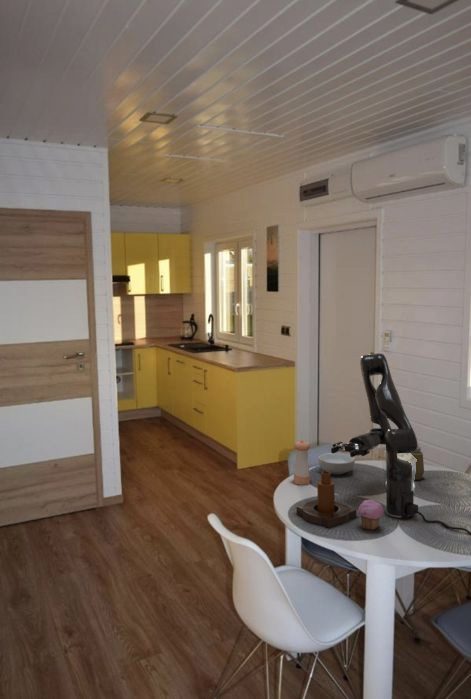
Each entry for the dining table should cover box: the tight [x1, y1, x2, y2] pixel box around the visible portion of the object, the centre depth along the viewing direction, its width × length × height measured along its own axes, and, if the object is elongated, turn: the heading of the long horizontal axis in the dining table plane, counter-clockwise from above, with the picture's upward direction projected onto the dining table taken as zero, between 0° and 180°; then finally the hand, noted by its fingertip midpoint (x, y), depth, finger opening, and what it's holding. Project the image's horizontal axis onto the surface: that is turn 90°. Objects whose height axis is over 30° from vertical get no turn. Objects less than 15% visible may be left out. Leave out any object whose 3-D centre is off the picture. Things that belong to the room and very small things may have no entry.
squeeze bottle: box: [411, 442, 425, 481], centre depth 260 cm, size 8×8×18 cm
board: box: [296, 499, 357, 529], centre depth 220 cm, size 18×18×3 cm
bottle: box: [316, 470, 336, 513], centre depth 219 cm, size 6×6×17 cm
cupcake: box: [357, 499, 384, 531], centre depth 208 cm, size 9×9×10 cm
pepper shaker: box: [293, 439, 311, 486], centre depth 257 cm, size 7×7×19 cm
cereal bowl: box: [318, 452, 356, 476], centre depth 270 cm, size 17×17×7 cm
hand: (341, 452), depth 226 cm, fingers open, 8 cm apart
